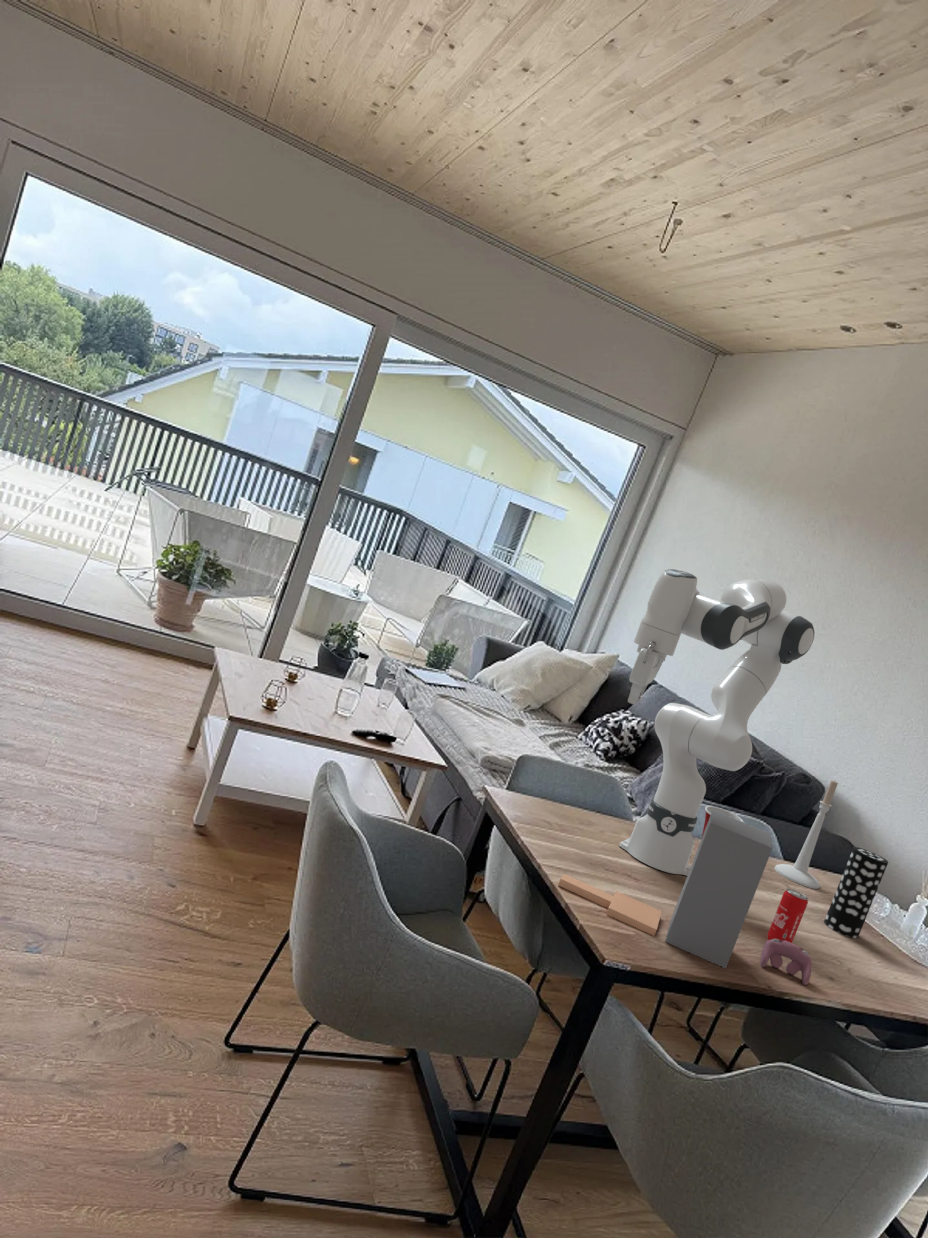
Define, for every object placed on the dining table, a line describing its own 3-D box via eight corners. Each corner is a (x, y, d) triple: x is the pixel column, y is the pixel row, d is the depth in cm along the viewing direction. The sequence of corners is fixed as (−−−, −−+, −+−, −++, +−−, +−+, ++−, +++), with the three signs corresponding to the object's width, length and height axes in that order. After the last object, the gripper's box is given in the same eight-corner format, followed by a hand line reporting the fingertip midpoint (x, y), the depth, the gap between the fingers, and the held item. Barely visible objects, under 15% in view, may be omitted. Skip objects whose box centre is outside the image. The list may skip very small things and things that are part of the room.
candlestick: (799, 872, 279) (836, 776, 276) (828, 892, 267) (868, 793, 264) (765, 863, 274) (803, 767, 271) (793, 884, 262) (833, 783, 259)
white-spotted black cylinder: (843, 937, 229) (874, 860, 227) (817, 919, 236) (846, 845, 234) (865, 939, 233) (895, 864, 231) (838, 922, 240) (867, 849, 238)
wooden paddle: (564, 875, 203) (567, 869, 202) (659, 918, 197) (661, 911, 197) (554, 890, 191) (557, 884, 191) (654, 936, 186) (656, 929, 185)
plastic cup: (685, 846, 262) (700, 806, 261) (697, 842, 271) (712, 803, 270) (721, 864, 256) (737, 823, 255) (733, 860, 265) (748, 820, 264)
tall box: (670, 921, 197) (712, 810, 195) (726, 946, 194) (770, 833, 191) (665, 941, 184) (710, 822, 182) (725, 969, 181) (772, 848, 179)
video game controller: (803, 988, 190) (813, 954, 193) (809, 986, 186) (819, 952, 189) (755, 967, 193) (765, 933, 195) (759, 964, 188) (769, 931, 191)
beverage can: (791, 953, 203) (811, 902, 202) (767, 944, 204) (787, 893, 203) (787, 944, 208) (807, 894, 207) (764, 935, 209) (783, 885, 208)
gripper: (666, 648, 195) (642, 711, 196) (673, 645, 215) (651, 703, 216) (636, 637, 197) (613, 700, 198) (646, 636, 216) (625, 693, 218)
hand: (633, 701), depth 207 cm, fingers open, 8 cm apart
